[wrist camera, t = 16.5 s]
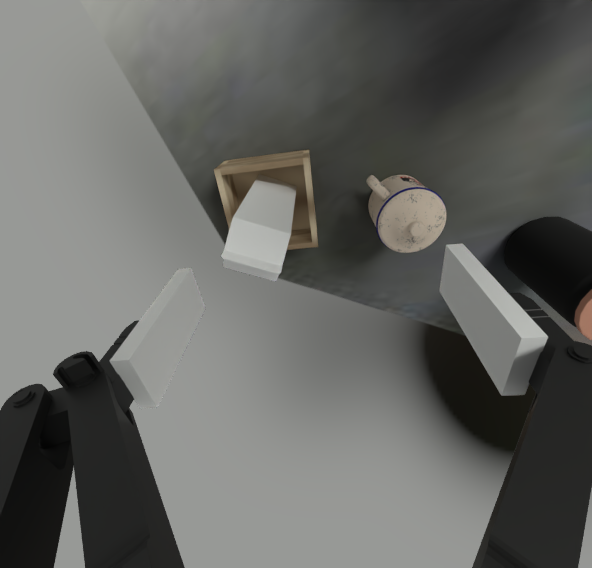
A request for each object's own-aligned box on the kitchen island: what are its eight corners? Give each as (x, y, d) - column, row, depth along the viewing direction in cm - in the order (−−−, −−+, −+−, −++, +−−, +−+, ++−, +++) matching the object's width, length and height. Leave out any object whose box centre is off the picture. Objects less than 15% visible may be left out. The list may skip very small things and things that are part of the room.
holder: (224, 160, 46) (213, 169, 41) (309, 149, 45) (309, 157, 40) (243, 238, 53) (235, 255, 47) (317, 230, 51) (318, 246, 46)
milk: (286, 221, 50) (273, 300, 31) (250, 210, 49) (214, 284, 31) (297, 184, 47) (290, 248, 28) (258, 172, 46) (224, 229, 28)
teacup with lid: (437, 199, 48) (471, 227, 38) (392, 240, 52) (411, 275, 42) (386, 144, 44) (408, 160, 34) (341, 192, 48) (349, 218, 38)
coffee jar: (496, 276, 55) (568, 348, 40) (505, 219, 49) (593, 277, 34) (561, 267, 54) (663, 337, 38) (579, 208, 48) (705, 262, 33)
